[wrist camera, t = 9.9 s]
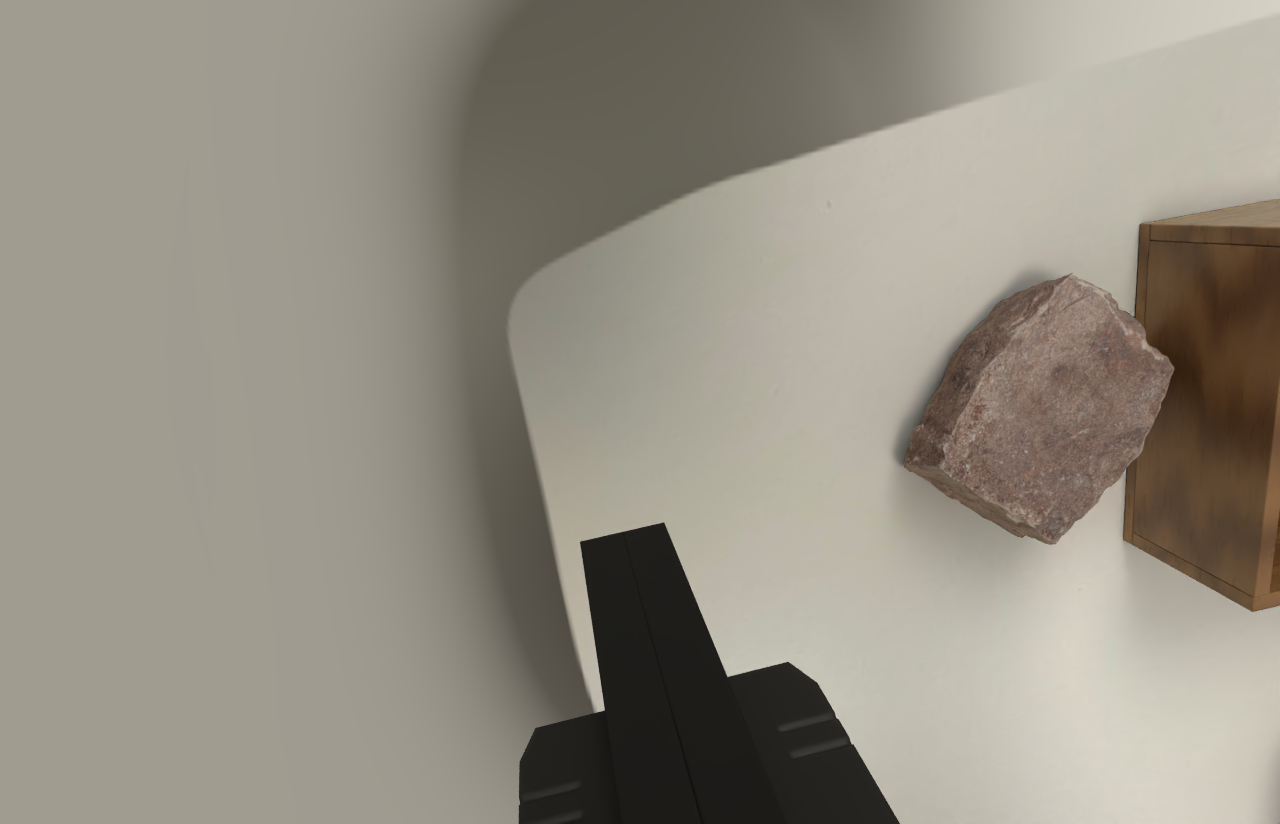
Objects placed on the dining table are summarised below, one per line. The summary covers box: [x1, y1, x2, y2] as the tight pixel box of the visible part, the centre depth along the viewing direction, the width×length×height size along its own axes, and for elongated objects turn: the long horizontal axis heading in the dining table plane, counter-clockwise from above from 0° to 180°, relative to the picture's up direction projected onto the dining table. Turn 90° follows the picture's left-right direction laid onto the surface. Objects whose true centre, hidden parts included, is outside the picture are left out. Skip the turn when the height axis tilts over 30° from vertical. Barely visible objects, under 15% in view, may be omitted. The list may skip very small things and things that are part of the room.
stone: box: [903, 273, 1174, 545], centre depth 34 cm, size 12×9×5 cm
